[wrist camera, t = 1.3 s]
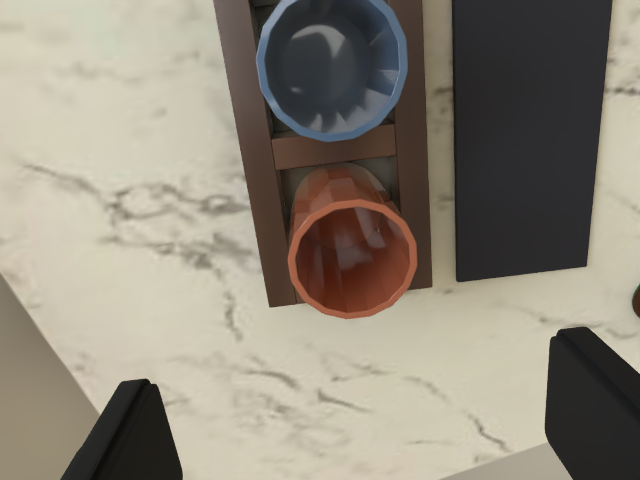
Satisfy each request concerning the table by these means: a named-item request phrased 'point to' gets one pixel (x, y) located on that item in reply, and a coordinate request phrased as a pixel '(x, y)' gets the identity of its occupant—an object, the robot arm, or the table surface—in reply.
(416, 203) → the holder
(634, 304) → the chess piece
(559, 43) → the placemat
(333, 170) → the cup
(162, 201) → the table surface
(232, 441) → the table surface
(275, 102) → the cup
